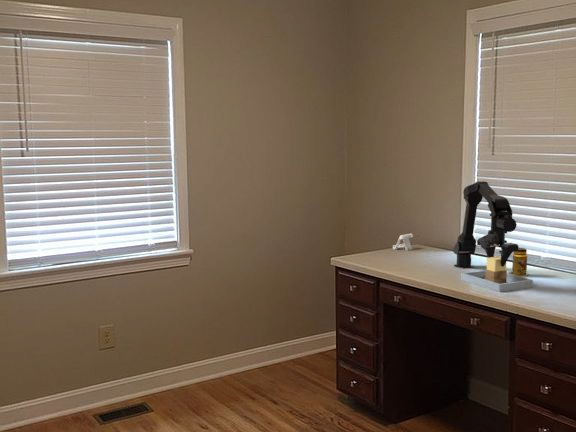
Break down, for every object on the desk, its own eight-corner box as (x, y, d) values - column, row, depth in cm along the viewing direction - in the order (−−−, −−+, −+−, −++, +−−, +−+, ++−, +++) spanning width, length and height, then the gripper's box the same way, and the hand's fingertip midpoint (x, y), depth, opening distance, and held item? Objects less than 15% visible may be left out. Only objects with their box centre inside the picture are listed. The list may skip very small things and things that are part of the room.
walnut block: (497, 281, 280) (498, 267, 279) (506, 284, 276) (506, 270, 275) (485, 283, 277) (485, 269, 276) (493, 285, 273) (494, 271, 272)
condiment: (525, 277, 287) (526, 250, 285) (505, 275, 291) (506, 249, 290) (528, 274, 293) (529, 247, 292) (509, 272, 297) (510, 246, 296)
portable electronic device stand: (403, 247, 359) (403, 232, 358) (414, 249, 353) (414, 234, 352) (392, 249, 354) (392, 234, 353) (404, 251, 348) (404, 235, 347)
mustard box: (497, 267, 279) (497, 256, 278) (505, 270, 275) (506, 258, 274) (486, 269, 277) (487, 257, 276) (495, 271, 272) (495, 259, 271)
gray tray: (460, 279, 283) (461, 273, 283) (492, 275, 291) (493, 269, 290) (499, 291, 262) (499, 284, 262) (532, 287, 270) (532, 279, 270)
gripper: (467, 226, 278) (466, 262, 280) (499, 232, 262) (497, 271, 264) (487, 224, 283) (486, 260, 285) (520, 230, 266) (518, 268, 268)
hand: (496, 264), depth 275 cm, fingers open, 7 cm apart
